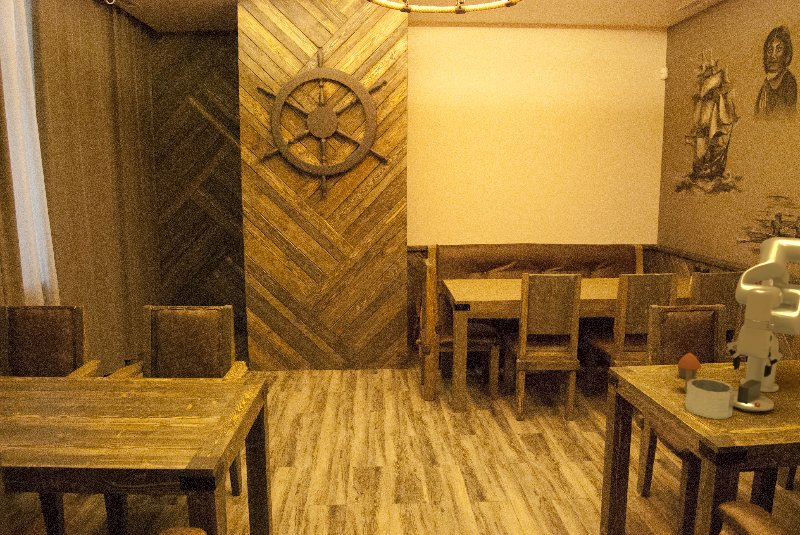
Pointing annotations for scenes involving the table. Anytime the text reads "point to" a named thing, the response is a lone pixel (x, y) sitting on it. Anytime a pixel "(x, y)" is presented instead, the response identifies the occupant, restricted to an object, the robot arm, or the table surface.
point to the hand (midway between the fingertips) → (751, 372)
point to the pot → (710, 398)
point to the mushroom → (689, 366)
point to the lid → (751, 398)
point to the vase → (683, 372)
